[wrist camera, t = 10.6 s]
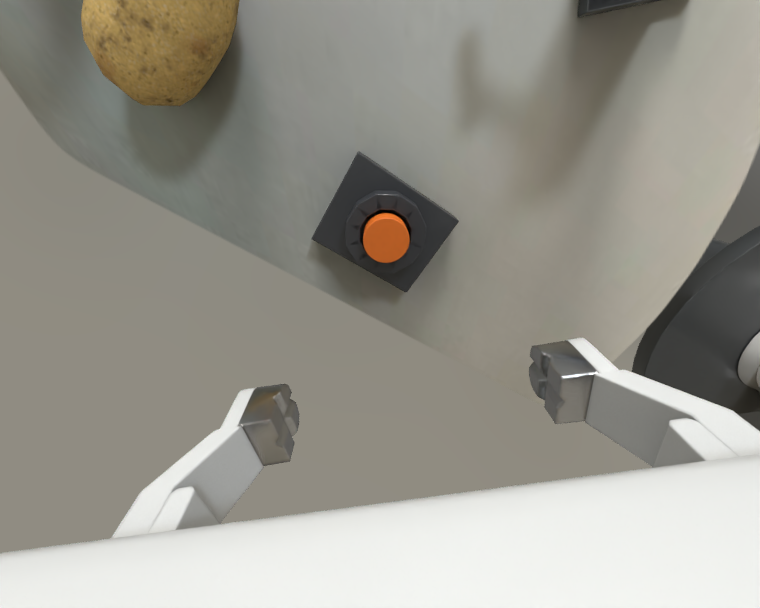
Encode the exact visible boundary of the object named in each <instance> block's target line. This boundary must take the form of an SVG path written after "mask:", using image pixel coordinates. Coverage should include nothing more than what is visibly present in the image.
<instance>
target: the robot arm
mask: <svg viewBox="0 0 760 608" xmlns="http://www.w3.org/2000/svg"><path fill="white" fill-rule="evenodd" d="M530 357H531V358H532V359H533V361H534V362H533V363H532V365H531V366H530V367H529V377H530V382H531V385H532V387H533V390H534V391H535V393H536V395H537V396H538V397H540V398H542V399H544V400H545V406H544V407H545V409H546V410H547V412H548V413H549V415H550V416H551V418H552V419H553V421H554V423H555V424H562V423H571V422H580V421H585V422H586V423H587V424H589V425H590V426H592V427H593V428H595V429H596V430H598V431H599V432H601V433H602V434H604V435H605V436H607V437H608V438H610V439H611V440H613V441H614V442H616V443H617V444H619V445H620V446H622V447H623V448H625V449H626V450H628V451H629V452H631V453H633V454H634V455H636V456H637V457H639V458H640V459H642V460H643V461H645V462H646V463H648V464H649V465H651V466H652V468H647V469H640V470H632V471H624V472H616V473H608V474H601V475H593V476H585V477H578V478H570V479H563V480H555V481H548V482H540V483H532V484H525V485H517V486H509V487H503V488H494V489H487V490H479V491H471V492H464V493H456V494H448V495H441V496H433V497H425V498H417V499H410V500H402V501H394V502H387V503H379V504H371V505H364V506H356V507H348V508H341V509H333V510H325V511H317V512H310V513H302V514H296V515H287V516H279V517H272V518H264V519H256V520H249V521H242V522H234V523H226V524H221V521H222V520H223V519H224V518H225V517H226V515H227V514H228V513H229V511H230V510H231V509H232V507H233V506H234V505H235V504H236V502H237V501H238V500H239V499H240V497H241V496H242V495H243V494H244V492H245V491H246V490H247V488H248V487H249V486H250V484H251V483H252V482H253V481H254V479H255V478H256V477H257V475H258V474H259V473H260V472H261V470H262V469H263V468H264V467H263V466H266V465H272V464H278V463H283V462H290V459H291V455H292V451H293V447H294V440H293V438H292V436H293V435H294V434H295V433H296V432H297V430H298V426H299V411H298V407H297V404H296V402H295V401H293V400H291V399H290V396H291V393H292V392H291V390H290V388H289V386H288V385H287V384H280V385H272V386H264V387H257V388H251V389H244V390H242V391H240V392H239V393H238V395H237V397H236V399H235V401H234V402H233V404H232V406H231V409H230V410H229V412H228V414H227V416H226V418H225V420H224V422H223V424H222V426H221V428H220V429H218V430H215V431H214V432H212V433H211V434H210V435H209V436H207V437H206V438H205V439H204V440H203V441H201V442H200V443H199V444H198V445H197V446H195V447H194V448H193V449H192V450H190V451H189V452H188V453H187V454H186V455H184V456H183V457H182V458H181V459H180V460H178V461H177V462H176V463H175V464H174V465H172V466H171V467H170V468H169V469H168V470H166V471H165V472H164V473H163V474H162V475H160V476H159V477H158V478H157V479H156V480H154V481H153V482H152V483H151V484H150V485H148V486H147V487H146V488H145V489H144V490H142V491H141V492H140V494H139V495H138V497H137V498H136V500H135V502H134V503H133V505H132V506H131V508H130V509H129V511H128V512H127V514H126V516H125V517H124V519H123V520H122V522H121V523H120V525H119V527H118V528H117V530H116V531H115V533H114V534H113V536H112V537H111V539H103V540H96V541H88V542H81V543H73V544H66V545H58V546H50V547H43V548H35V549H28V550H20V551H12V552H5V553H0V608H760V431H759V430H757V429H756V428H755V427H753V426H752V425H751V424H749V423H748V422H747V421H746V420H744V419H743V418H742V417H740V416H739V415H738V414H736V413H735V412H734V411H732V410H730V409H727V408H724V407H722V406H719V405H717V404H714V403H711V402H709V401H706V400H703V399H701V398H698V397H696V396H693V395H690V394H688V393H685V392H682V391H680V390H677V389H674V388H672V387H669V386H667V385H664V384H661V383H659V382H656V381H653V380H651V379H648V378H646V377H643V376H640V375H638V374H635V373H632V372H630V371H627V370H618V369H617V368H616V367H615V366H614V365H613V364H612V363H611V362H610V361H609V360H608V359H607V358H606V357H604V356H603V355H602V354H601V353H600V352H599V351H598V350H597V349H596V348H595V347H594V346H593V345H592V344H591V343H589V342H588V341H587V340H586V339H585V338H582V337H580V338H575V339H569V340H565V341H559V342H553V343H547V344H541V345H534V346H532V348H531V352H530ZM738 375H739V378H740V379H741V381H742V382H743V383H744V384H746V385H747V386H749V387H751V388H753V389H756V390H757V391H759V394H760V332H759V333H758V334H757V335H756V336H755V337H754V338H753V339H752V340H751V341H750V343H749V344H748V345H747V347H746V348H745V350H744V351H743V353H742V355H741V357H740V360H739V364H738Z"/></svg>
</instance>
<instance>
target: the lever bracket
mask: <svg viewBox="0 0 760 608" xmlns="http://www.w3.org/2000/svg"><path fill="white" fill-rule="evenodd" d="M655 1H659V0H579V7H578V17H584V16H588V15H593V14H598V13H603V12H607V11H612V10H617V9H621V8H626V7H631V6H636V5H640V4H645V3H650V2H655Z"/></svg>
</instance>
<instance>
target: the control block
mask: <svg viewBox="0 0 760 608" xmlns="http://www.w3.org/2000/svg"><path fill="white" fill-rule="evenodd" d="M380 213H391V214H394V215H396V216H398V217H399V218H401V219H402V221H403V222H404V223H405V225H406V228H407V230H408V233H409V238H410V242H409V247H408V249H407V251H406V253H405V254H404V255H403V256H402V257H401V258H400V259H398V260H396V261H394V262H390V263H382V262H378V261H376V260H374V259H372V258H371V257H370V256H369V255H368V254H367V252H366V251H365V248H364V245H363V234H364V228H365V226H366V224H367V222H368V221H369V220H370V219H371V218H372V217H374V216H375V215H377V214H380ZM458 222H459V221H458V220H457V219H456V218H455V217H454V216H453V215H452V214H450V213H449V212H448V211H446V210H445V209H443V208H442V207H440V206H439V205H437V204H436V203H434V202H433V201H431V200H430V199H428V198H427V197H426V196H424V195H423V194H421V193H420V192H418V191H417V190H415V189H414V188H412V187H411V186H409V185H408V184H406V183H405V182H404V181H402V180H401V179H399V178H398V177H396V176H395V175H393V174H392V173H390V172H389V171H387V170H386V169H384V168H383V167H382V166H380V165H379V164H377V163H376V162H374V161H373V160H371V159H370V158H368V157H367V156H365V155H364V154H362V153H361V152H358V153H357V155H356V157H355V159H354V160H353V162H352V164H351V166H350V168H349V170H348V172H347V174H346V175H345V177H344V179H343V181H342V183H341V185H340V187H339V188H338V190H337V192H336V194H335V196H334V198H333V200H332V201H331V203H330V205H329V207H328V209H327V211H326V213H325V214H324V216H323V218H322V220H321V222H320V224H319V226H318V227H317V229H316V231H315V233H314V235H313V237H312V239H313V240H314V241H316V242H318V243H320V244H321V245H323V246H325V247H327V248H329V249H330V250H332V251H334V252H336V253H337V254H339V255H341V256H343V257H344V258H346V259H348V260H350V261H351V262H353V263H355V264H357V265H359V266H360V267H362V268H364V269H366V270H367V271H369V272H371V273H373V274H374V275H376V276H378V277H380V278H381V279H383V280H385V281H387V282H388V283H390V284H392V285H394V286H396V287H397V288H399V289H401V290H403V291H404V292H407V291H408V290H409V288H410V287H411V286H412V284H413V283H414V281H415V280H416V279H417V277H418V276H419V275H420V273H421V272H422V271H423V269H424V268H425V267H426V265H427V264H428V262H429V261H430V260H431V258H432V257H433V256H434V254H435V253H436V252H437V250H438V249H439V248H440V246H441V245H442V243H443V242H444V241H445V239H446V238H447V237H448V235H449V234H450V233H451V231H452V230H453V228H454V227H455V226H456V224H457V223H458Z"/></svg>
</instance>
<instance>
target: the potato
mask: <svg viewBox="0 0 760 608" xmlns="http://www.w3.org/2000/svg"><path fill="white" fill-rule="evenodd" d="M238 6H239V0H83V6H82V12H81V21H82V29H83V36H84V41H85V42H86V44H87V46H88V48H89V50H90V52H91V53H92V55H93V57H94V59H95V61H96V63H97V64H98V66H99V68H100V70H101V71H102V73H103V75H104V76H105V77H107V78H108V79H109V80H110V81H111V82H113V83H114V84H115V85H116V86H118V87H119V88H120V89H121V90H122V91H124V92H125V93H126V94H127V95H128V96H130V97H131V98H132V99H134V100H136V101H137V102H139V103H140V104H142V105H158V106H181V105H183V104H184V103H186V102H187V101H189V100H191V99H192V98H194V97H195V96H196V95H197V94H198V93H199V92H200V90H201V89H202V88H203V86H204V85H205V84H206V83H207V81H208V80H209V78H210V77H211V75H212V73H213V72H214V70H215V69H216V67H217V66H218V64H219V62H220V61H221V59H222V57H223V56H224V54H225V52H226V51H227V49H228V47H229V45H230V41H231V38H232V35H233V31H234V28H235V25H236V20H237V13H238Z"/></svg>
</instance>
